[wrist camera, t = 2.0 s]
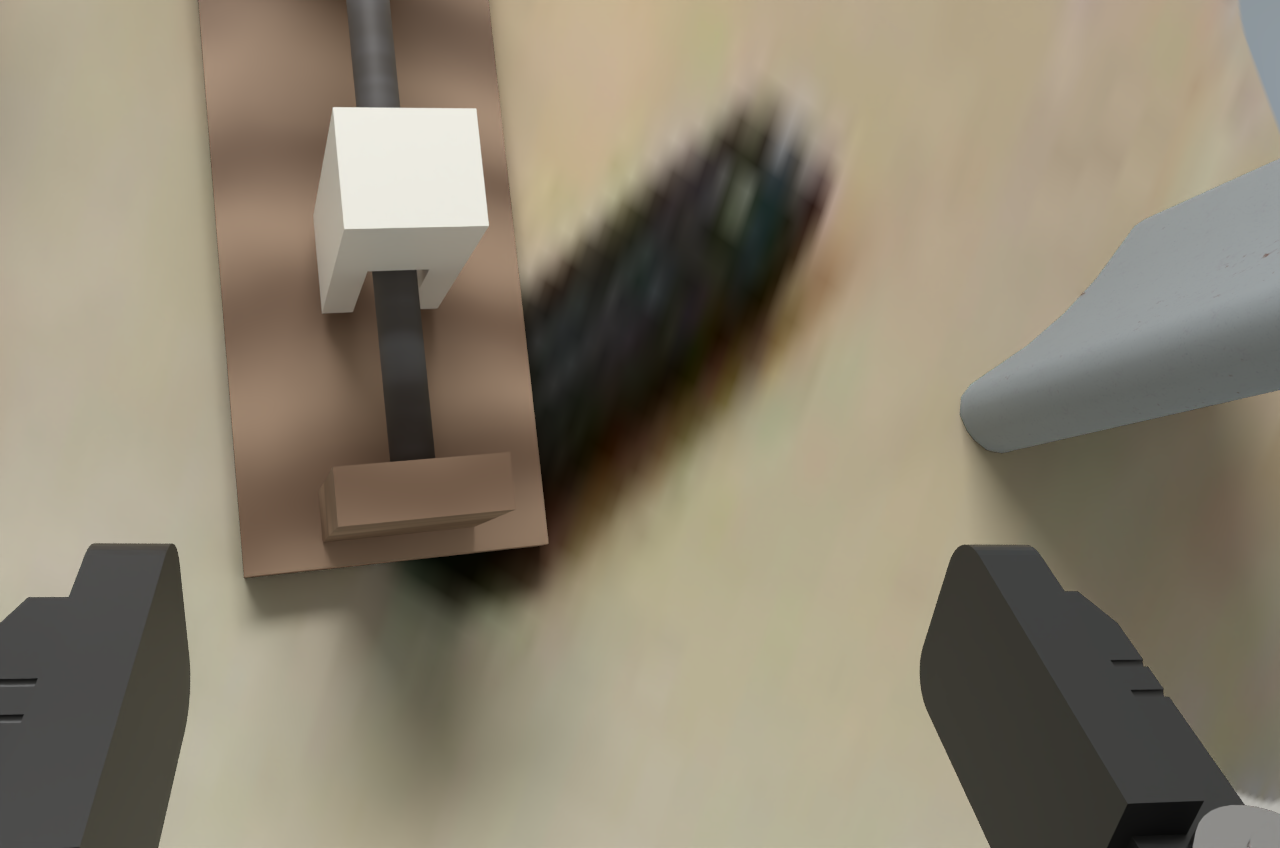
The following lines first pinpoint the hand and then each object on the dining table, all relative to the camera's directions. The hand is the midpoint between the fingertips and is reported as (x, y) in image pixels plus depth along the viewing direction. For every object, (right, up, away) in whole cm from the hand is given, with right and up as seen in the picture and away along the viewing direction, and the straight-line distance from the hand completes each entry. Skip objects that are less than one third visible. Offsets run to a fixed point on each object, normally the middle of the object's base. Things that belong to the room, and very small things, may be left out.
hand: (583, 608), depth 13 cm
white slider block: (-10, +8, +37) cm, 39 cm away
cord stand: (-11, +12, +39) cm, 43 cm away
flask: (+23, +6, +50) cm, 55 cm away
